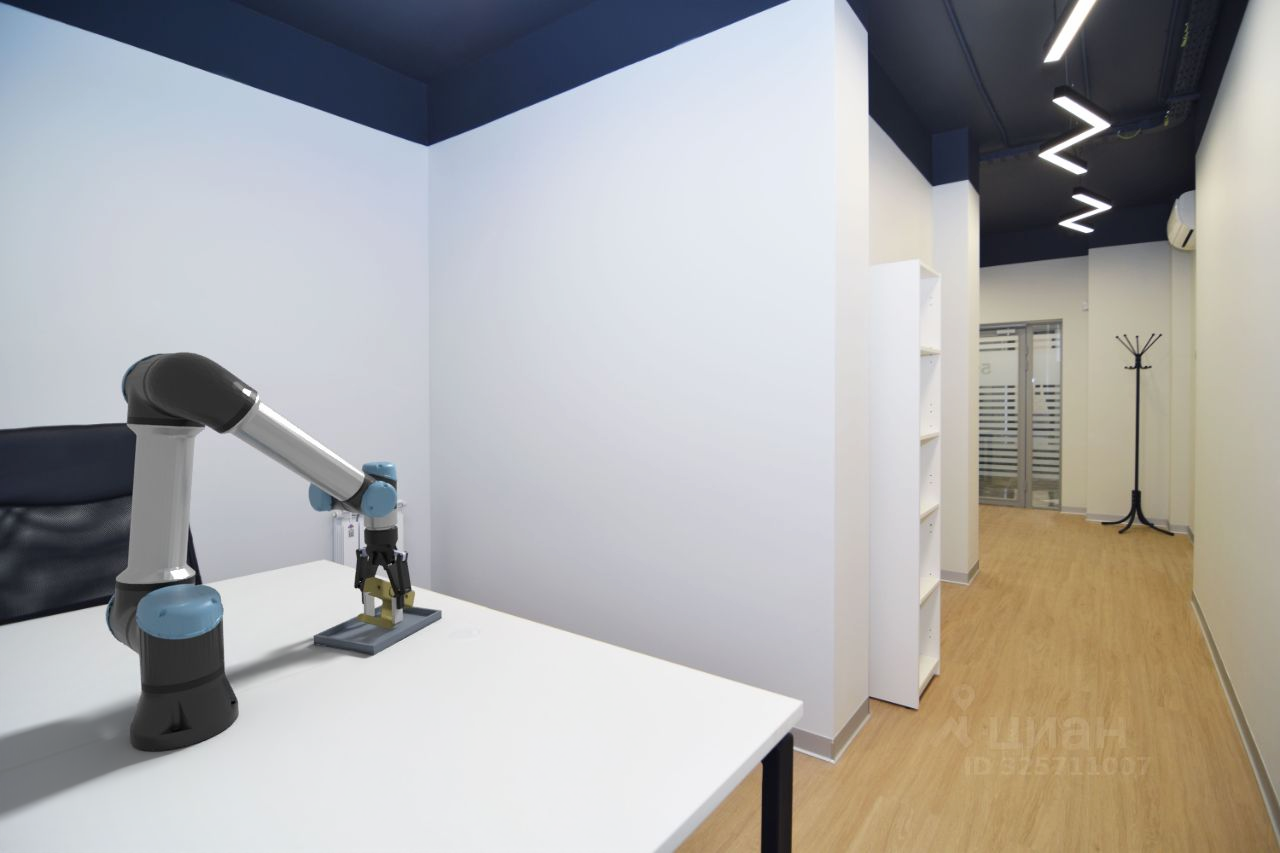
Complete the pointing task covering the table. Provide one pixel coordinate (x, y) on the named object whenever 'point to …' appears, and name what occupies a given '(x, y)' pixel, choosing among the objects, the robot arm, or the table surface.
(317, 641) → the tray
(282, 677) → the table surface
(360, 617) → the bracket
